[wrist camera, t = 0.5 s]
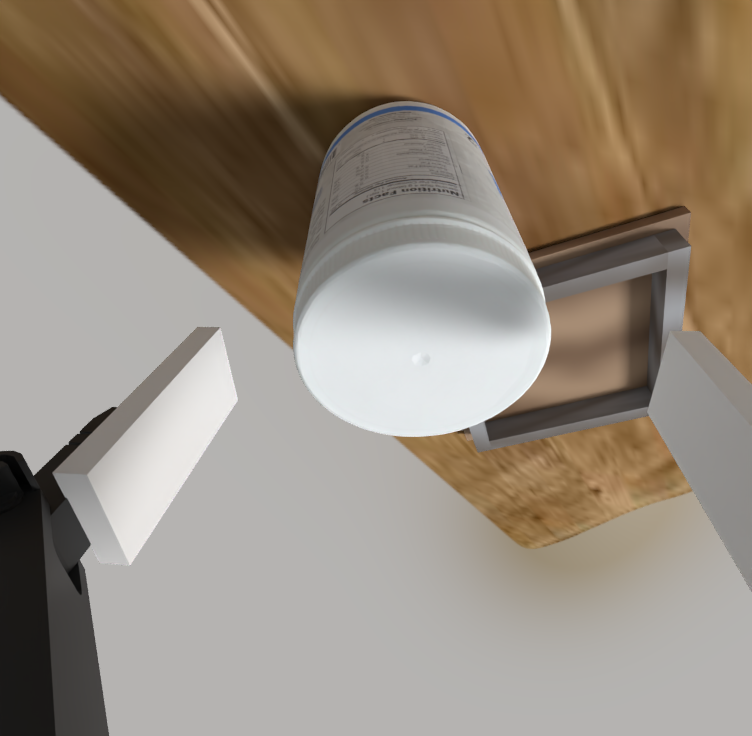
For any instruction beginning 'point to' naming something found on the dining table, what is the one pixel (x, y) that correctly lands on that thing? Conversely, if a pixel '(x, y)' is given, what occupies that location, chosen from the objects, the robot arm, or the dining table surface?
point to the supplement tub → (415, 280)
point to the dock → (600, 329)
